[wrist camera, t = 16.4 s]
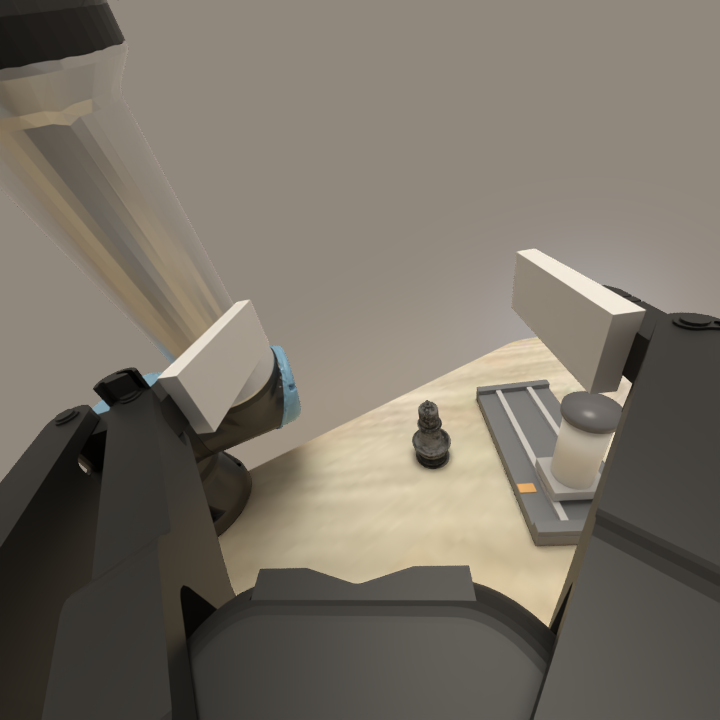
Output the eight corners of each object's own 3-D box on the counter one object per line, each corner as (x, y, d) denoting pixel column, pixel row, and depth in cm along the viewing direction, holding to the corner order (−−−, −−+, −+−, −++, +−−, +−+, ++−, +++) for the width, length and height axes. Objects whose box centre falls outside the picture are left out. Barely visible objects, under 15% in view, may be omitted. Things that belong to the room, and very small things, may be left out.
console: (535, 545, 34) (538, 533, 33) (476, 398, 56) (476, 387, 54) (650, 542, 33) (660, 529, 31) (543, 391, 54) (546, 379, 52)
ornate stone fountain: (408, 461, 48) (398, 407, 41) (424, 436, 51) (417, 383, 45) (442, 476, 44) (438, 420, 38) (456, 448, 48) (455, 392, 41)
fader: (553, 501, 35) (573, 429, 28) (534, 464, 39) (548, 394, 33) (608, 499, 34) (644, 423, 27) (583, 461, 38) (608, 388, 32)
